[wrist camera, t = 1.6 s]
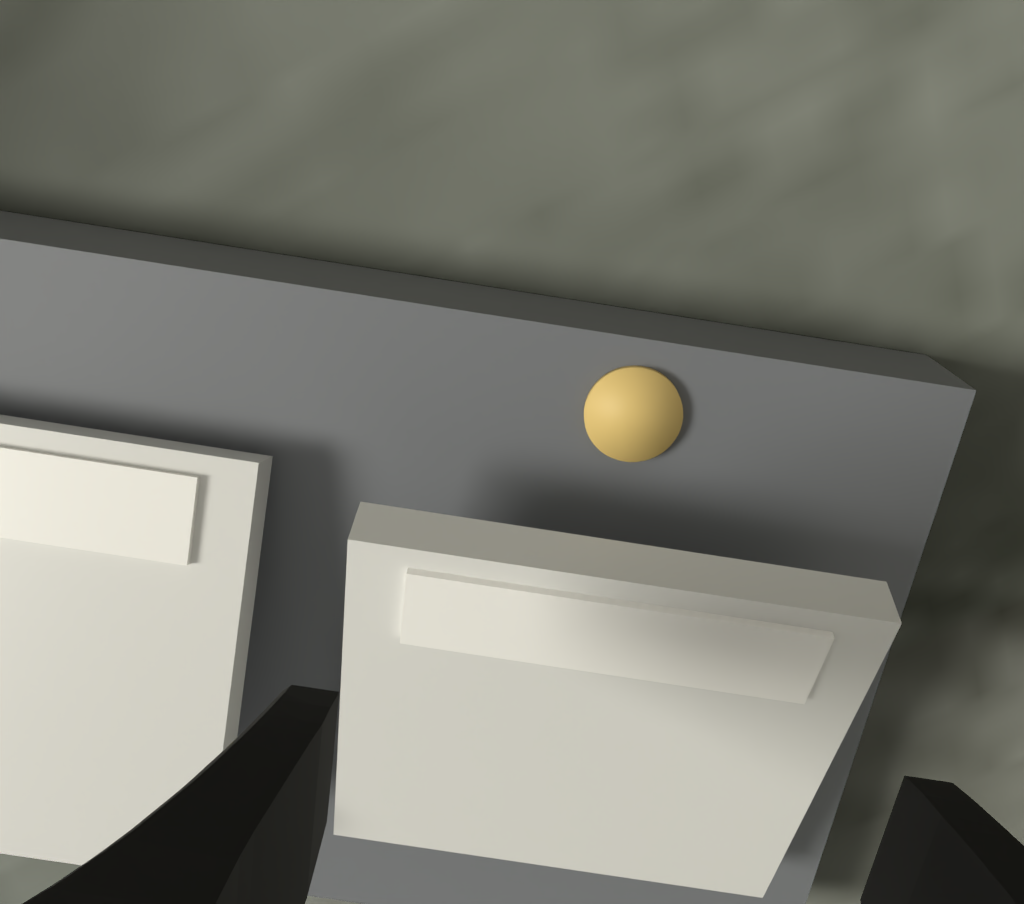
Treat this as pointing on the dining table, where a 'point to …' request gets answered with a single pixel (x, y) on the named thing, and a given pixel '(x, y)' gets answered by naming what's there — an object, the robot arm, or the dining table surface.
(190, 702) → the switch
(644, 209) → the dining table surface
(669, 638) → the switch
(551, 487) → the switch panel
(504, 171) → the dining table surface
